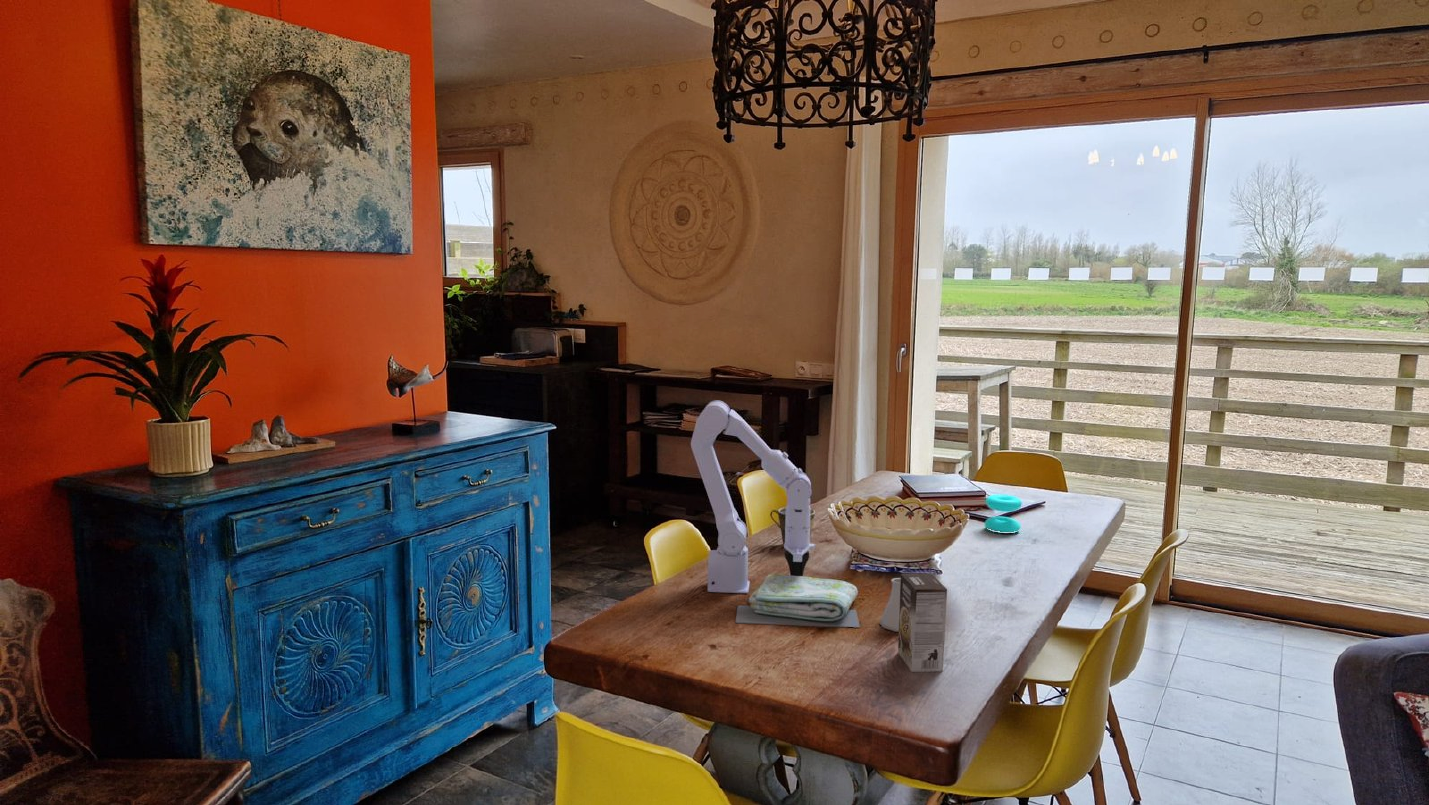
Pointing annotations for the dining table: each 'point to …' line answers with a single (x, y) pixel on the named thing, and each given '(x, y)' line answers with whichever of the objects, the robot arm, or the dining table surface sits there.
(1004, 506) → the donuts
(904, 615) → the coffee box
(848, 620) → the slate mat
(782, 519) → the ceramic cup
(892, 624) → the flask
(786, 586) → the towel
